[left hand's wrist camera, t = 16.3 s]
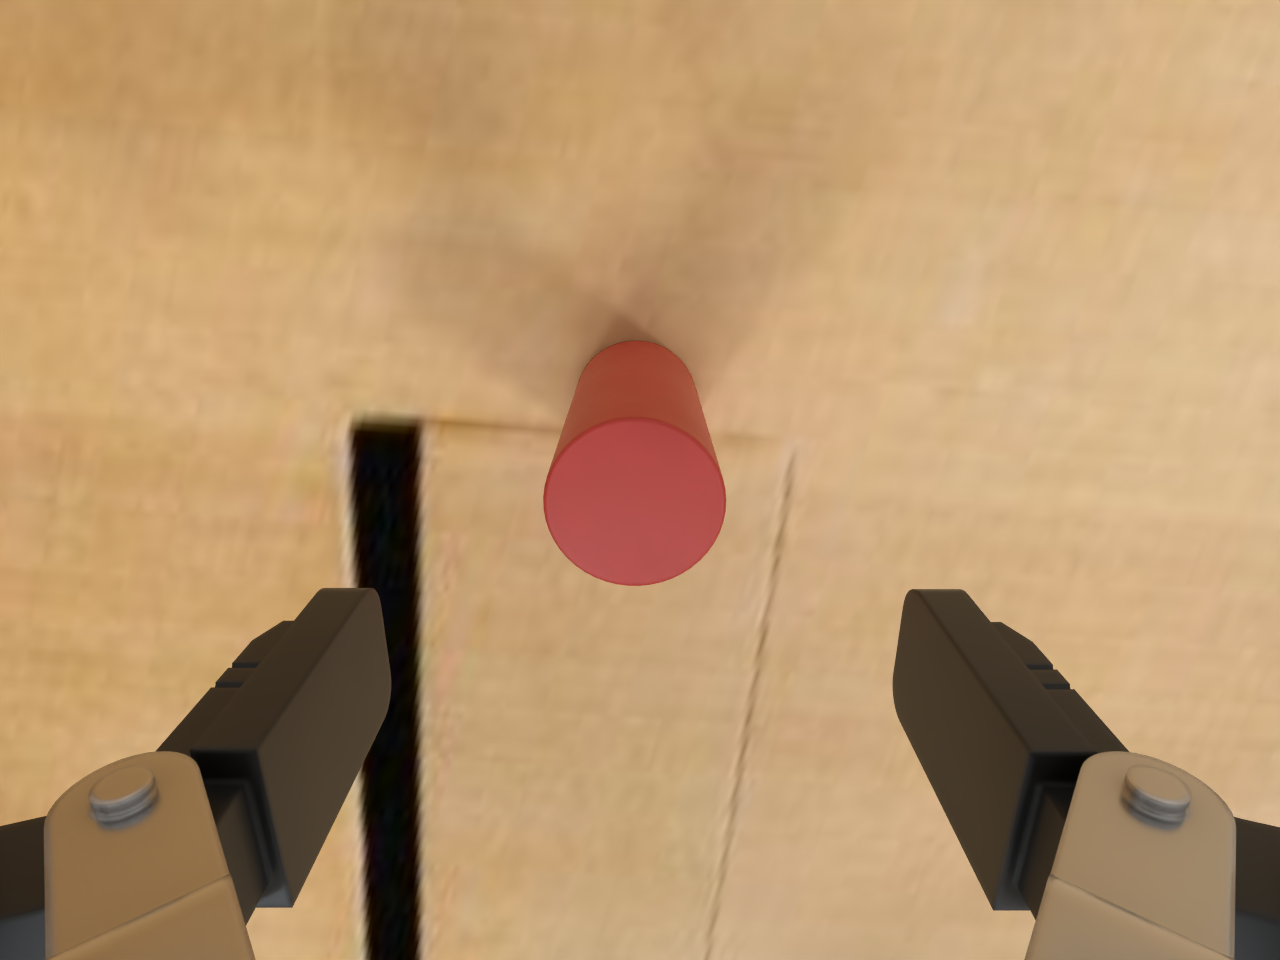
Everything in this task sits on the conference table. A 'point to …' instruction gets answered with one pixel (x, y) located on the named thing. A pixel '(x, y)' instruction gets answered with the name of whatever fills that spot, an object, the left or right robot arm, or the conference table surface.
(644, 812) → the conference table surface
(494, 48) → the conference table surface
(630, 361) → the can
